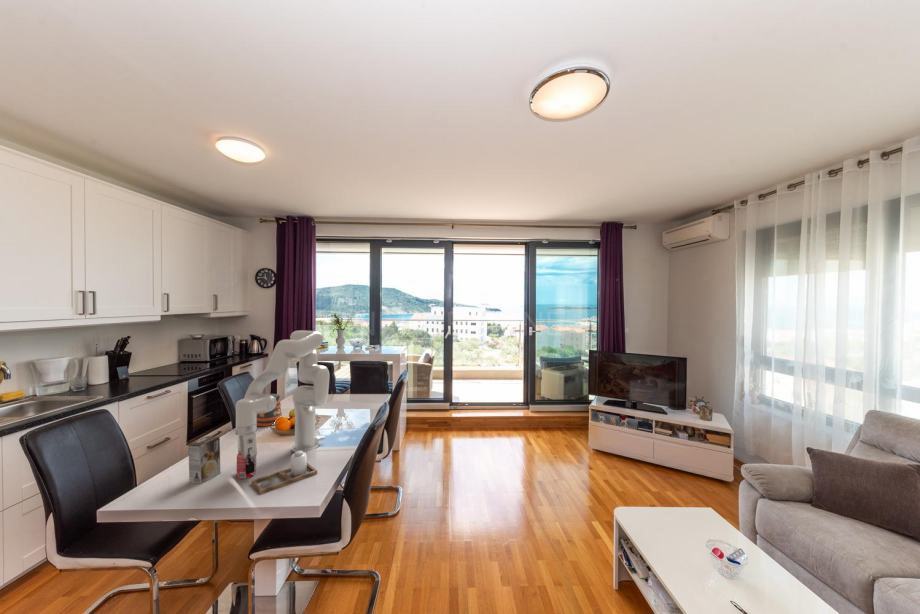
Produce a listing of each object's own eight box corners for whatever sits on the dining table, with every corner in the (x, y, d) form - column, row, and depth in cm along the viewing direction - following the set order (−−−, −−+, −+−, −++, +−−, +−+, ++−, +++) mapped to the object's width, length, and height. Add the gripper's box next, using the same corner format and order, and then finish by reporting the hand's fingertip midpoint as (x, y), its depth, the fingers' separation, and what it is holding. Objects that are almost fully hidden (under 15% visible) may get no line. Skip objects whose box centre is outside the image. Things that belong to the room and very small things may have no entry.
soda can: (255, 472, 152) (255, 445, 152) (256, 479, 146) (256, 451, 146) (236, 476, 148) (236, 448, 148) (236, 484, 142) (236, 455, 142)
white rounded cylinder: (303, 469, 152) (302, 448, 152) (308, 473, 148) (308, 452, 148) (288, 473, 148) (288, 452, 148) (294, 478, 144) (294, 456, 144)
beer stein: (242, 426, 208) (242, 393, 208) (258, 418, 223) (258, 387, 222) (272, 427, 206) (272, 393, 206) (287, 419, 221) (287, 387, 221)
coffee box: (208, 471, 152) (208, 435, 152) (220, 473, 151) (220, 436, 151) (188, 482, 143) (187, 443, 143) (201, 484, 142) (200, 445, 142)
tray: (304, 467, 157) (304, 461, 157) (318, 478, 147) (318, 471, 147) (250, 485, 141) (249, 479, 141) (261, 499, 131) (261, 492, 131)
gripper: (263, 431, 143) (263, 472, 144) (249, 421, 155) (249, 459, 155) (242, 436, 138) (242, 479, 138) (230, 425, 150) (230, 465, 150)
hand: (246, 469), depth 147 cm, fingers open, 9 cm apart
